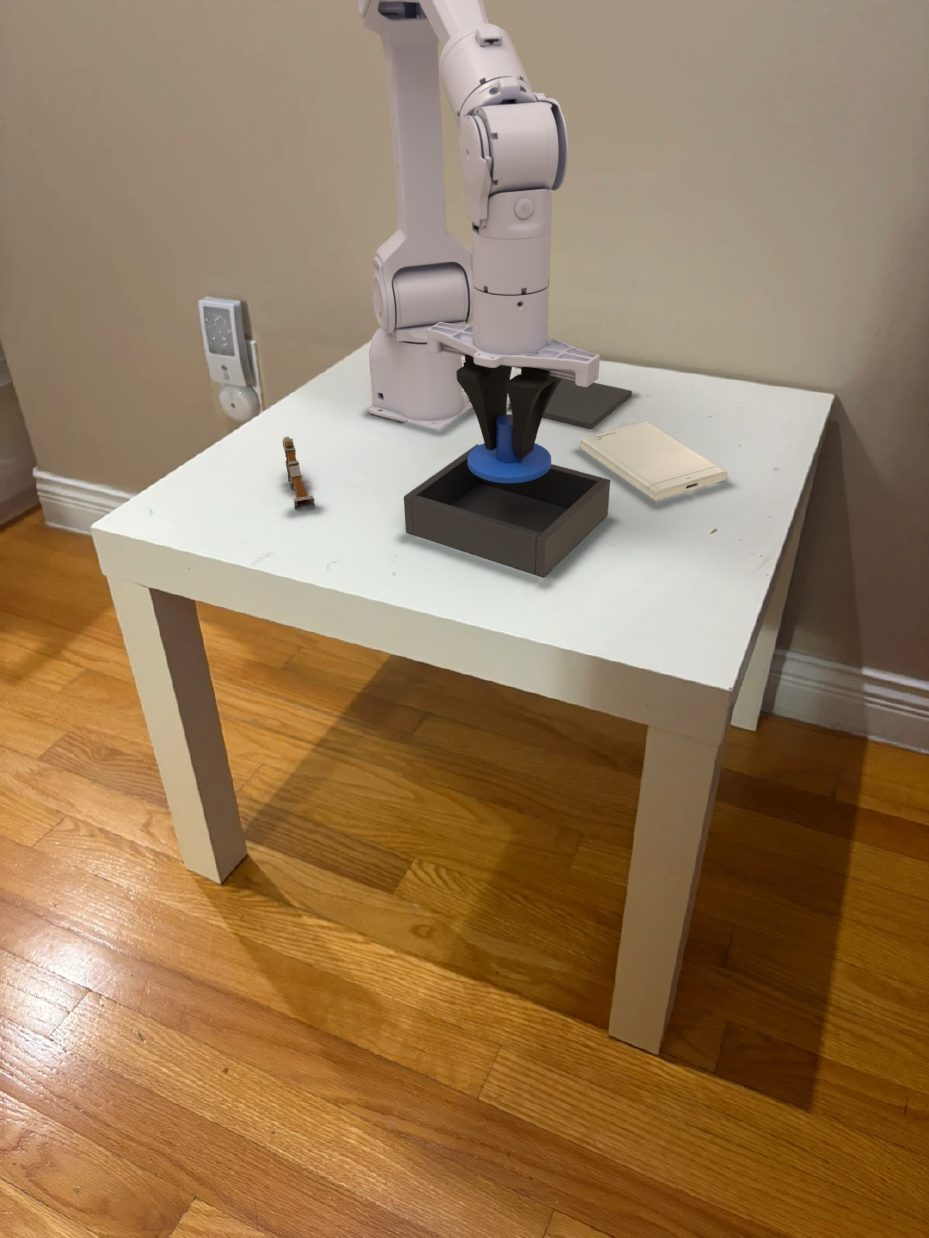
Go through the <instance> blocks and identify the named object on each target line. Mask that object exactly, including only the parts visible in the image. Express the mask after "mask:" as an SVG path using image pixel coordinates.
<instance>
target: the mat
mask: <svg viewBox="0 0 929 1238" xmlns="http://www.w3.org/2000/svg"><path fill="white" fill-rule="evenodd" d="M632 396H633V391H632V390H630V389H625V388H621V387H617V386H612V385H608V384H603V383H599V382H594V383H592V384H590V385H589V386H588V387H582V386H578V385H576V384H575V381H573V380H568V379H564V378H562V380H561V381H560V383H559V384H558V386H557V388H556V390H555V391H554V393H553V395H552V397H551V399H550V401H549V403H548V405H547V407H546V410H545V412H544V414H543V417H542V418H546V419H550V420H553V421H558V422H562V423H566V424H570V425H575V426H578V427H579V426H580V427H583V428H587V429H593V428H594V427H595V426H596V425H598V424H599V423H600V422H601V421H602V420H604V419H605V418H606V417H607V416H609V415H610V414H612V413H613V412H614V411H615V410H616V409H617V408H619V407H620V406H621V405H622V404H623V403H624V402H626V401H627V400H628V399H629V398H631V397H632ZM508 409H509V410H511V404H510V403H509V404H508Z"/></svg>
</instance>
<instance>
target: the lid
mask: <svg viewBox="0 0 929 1238" xmlns="http://www.w3.org/2000/svg"><path fill="white" fill-rule="evenodd" d="M478 445H479V446H477V447H475V448H474V449H472V450H471V452H470V453H469V455H468V467H469V469H470V471H471V472H472V473H473V474H475V475H476V476H478V477H480V478H482V479H485V480H488V481H492V482H497V483H521V482H527V481H531V480H534V479H537V478H539V477H541V476H543V475H544V474H546V473H547V472H548V471H549V469H550V467H551V464H552V455H551V453H550V452H549V450H547V448H546V447H544V446H542V445H540V444H538V443H536V442H535V444H534V449H533V451H531V452H530V453H529V454H528V455H526V456H525V457H524V458H522V459H520V458H516V457H514V452H513V417H512V413H509V414H508V413H507V414H506V415H502V416H499V417H498V418H497V420H496V449H494V450H493V451H491V450H487V449H486V447H485V443H484V442H483V443H480V444H478Z"/></svg>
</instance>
